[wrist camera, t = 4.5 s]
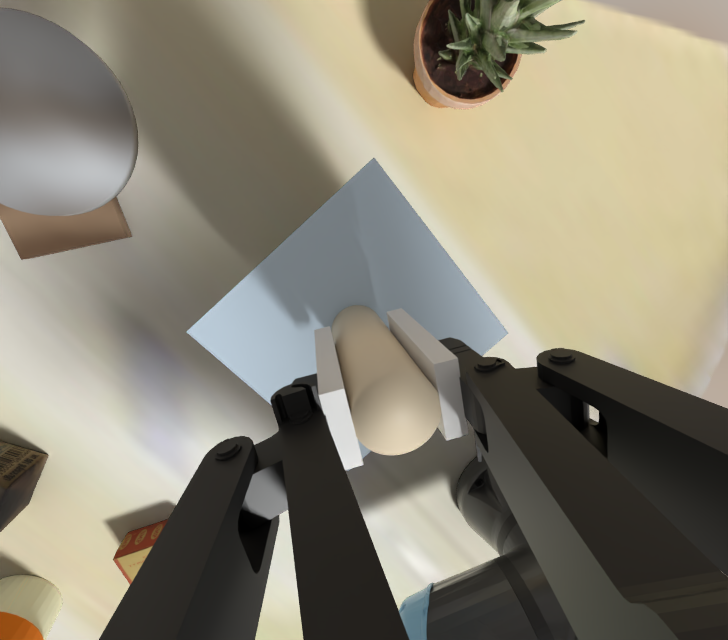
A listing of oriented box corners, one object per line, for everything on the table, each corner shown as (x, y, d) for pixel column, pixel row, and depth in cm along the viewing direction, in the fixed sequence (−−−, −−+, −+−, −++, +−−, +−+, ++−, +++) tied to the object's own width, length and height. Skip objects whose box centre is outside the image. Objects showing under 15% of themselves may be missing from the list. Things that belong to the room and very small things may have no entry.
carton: (190, 509, 46) (179, 536, 42) (234, 591, 51) (229, 623, 47) (127, 530, 46) (109, 560, 42) (178, 612, 51) (167, 646, 47)
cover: (426, 288, 35) (650, 409, 12) (331, 372, 36) (375, 635, 13) (343, 188, 31) (442, 88, 8) (240, 284, 32) (73, 431, 9)
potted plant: (452, -1, 35) (748, -447, 12) (499, 87, 38) (810, -127, 15) (375, 65, 36) (508, -235, 12) (426, 147, 38) (615, 34, 15)
